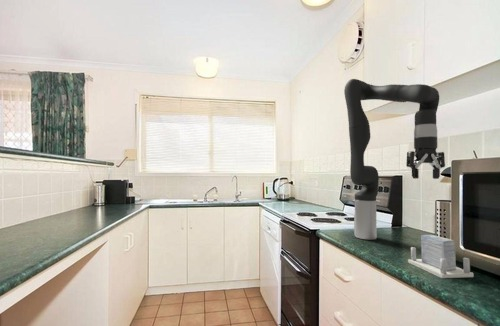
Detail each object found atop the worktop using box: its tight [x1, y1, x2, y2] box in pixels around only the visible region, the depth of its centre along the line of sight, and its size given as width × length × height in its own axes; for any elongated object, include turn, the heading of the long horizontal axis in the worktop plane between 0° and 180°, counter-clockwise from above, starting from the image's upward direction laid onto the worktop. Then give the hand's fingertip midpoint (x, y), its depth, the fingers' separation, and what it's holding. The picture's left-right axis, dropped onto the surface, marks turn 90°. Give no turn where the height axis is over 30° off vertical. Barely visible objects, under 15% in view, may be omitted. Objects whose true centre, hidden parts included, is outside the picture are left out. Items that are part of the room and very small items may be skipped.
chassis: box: [407, 246, 474, 279], centre depth 79 cm, size 13×10×5 cm
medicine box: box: [420, 234, 457, 270], centre depth 79 cm, size 8×4×9 cm, turn 11°
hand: (425, 178), depth 99 cm, fingers open, 8 cm apart
